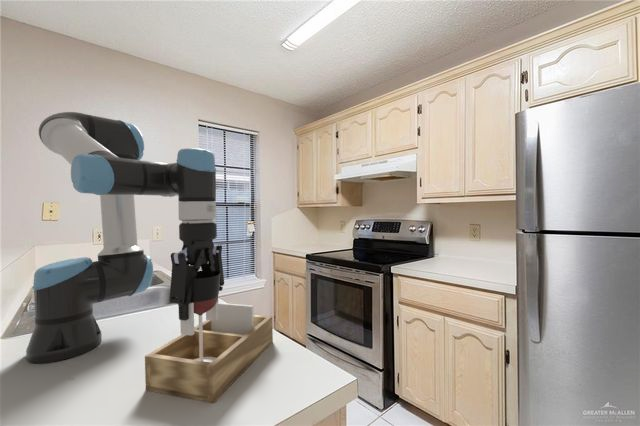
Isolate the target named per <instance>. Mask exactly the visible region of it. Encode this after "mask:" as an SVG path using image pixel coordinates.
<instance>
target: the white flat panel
mask: <svg viewBox="0 0 640 426" xmlns="http://www.w3.org/2000/svg"><path fill="white" fill-rule="evenodd" d="M254 315H255V313H254V305H249V304H240V303H239V304H238V303H236V304H235V303H228V302H227V303H224V302H218V320H217V321H214V320H211V331H214V332H222V333H231V334H239V335H246V334H247V333H248V332H249V331H251V330H252V329H253V328H254Z"/></svg>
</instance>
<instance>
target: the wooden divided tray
mask: <svg viewBox="0 0 640 426" xmlns="http://www.w3.org/2000/svg"><path fill="white" fill-rule="evenodd" d="M202 325H203V357H215V358H216V359H215V360H214V361H212V362H205V361H198V360H194V359H197V358H200V357H199V324H198V325H196V326H194V335H192V336H191V335H183V334H180V335H179V336H177V337H175V338H173V339H172V340H169V341H168V342H167V343H164V344H163V345H161V346H160V347H157V348H156V349H154V350H153V351H151V352H150V353H148V354H145V355H144V375H145V380H144V381H145V391H149V392H155V393H159V394H164V395H168V396H169V395H170V396H175V397H179V398H185V399H190V400H194V401H200V402H203V403H209V404H214V403H215V402H217V401H218V399H219V398H220V397H221V396H222V395H223V394H224V393H225V392H227V390H228V389H229V388H230V387H231V386H232V385H233V384H234V383H235V382H236V381H237V380H238V379H239V378H240V377H241V375H242V374H243V373H244V372H245V371H246V370H247V369H248V368H249V367H250V366H251V365H252V364H253V363H254V362H255V361H257V359H258V358H259V357H260V356H261V355H262V354H263V353H264V352H265V351H266V350H267V348H269V347H270V345H271V344H272V343H273V342H274V337H273V335H274V334H273V333H274V332H273V316H270V315H259V314H254V328H253V329H252V330H251V331H249V332H248V333H247V334H246V335H239V334H231V333H222V332H214V331H211V320H206V319H205V321H202Z"/></svg>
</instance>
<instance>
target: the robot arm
mask: <svg viewBox="0 0 640 426" xmlns="http://www.w3.org/2000/svg"><path fill="white" fill-rule="evenodd" d="M38 136H39V139H40V142H41V143H42V144H43V145H44V146H45V147H46V148H47V149H48V150H49V151H51V152H53V153H54V154H56V155H57V154H58V155H60V156H62V157H63V159H65V161H67V162H68V163H69V164H70V179H71V182H72V186H73V188H74V189H75V191H77V192H78V193H81V194H90V195H91V194H92V195H96V196H99V197H100V212H101V213H100V214H101V226H102V228H101V229H102V243H103V248H102V250H100V252H99V253H98V254H97V260H96V261H93V260H92V258H90V257H87V256H86V257H85V256H84V257H76V258H68V259H65V260H63V259H62V260H60V261H56V262H52V263H48V264H45V265H43V266H41V267H39V268H37V270H35V272H34V275H33V284H32V285H33V286H32V290H33V297H34V302H33V303H34V328H33V331H32V333H31V336H30V339H29V342H28V345H27V347H26V350H25V353H26V354H25V355H26V361H27V362H29V363H33V364H42V363H43V364H45V363H46V364H47V363H53V362H58V361H64V360H66V359H71V358H73V357H77V356H80V355H83V354H85V353H87V352H89V351H92V350H93V349H94V348H97V347H98V346H99V345H100V344H101V343H102V341H103V340H102V337H103V336H102V331H101V329H100V326H99V325H98V324H99V323H98V322H97V320H96V318H95V315H94V304H97V303H102V302H107V301H110V300H111V301H112V300H115V299H116V300H117V299H119V298H124V297H131V296H134V295H136V294H140V293H142V292H145V291H146V290H147V289H148V288H149V286H150V284H151V283H152V280H153V276H154V264H153V261H152V258H151V257H150V256H149V255H148V254H145V252H144V249H143V248H142V247H141V246H139V244H138V233H137V219H136V217H137V216H136V206H135V205H136V204H135V196H158V197H159V196H161V197H167V198H168V197H169V198H171V197H175V196H177V197H178V202H177V203H178V220H179V221H181V223H180V224H179V225H178V231H179V232H178V233H179V236H178V238H179V240H180V241H182V242H183V243H182V247H181V250H180V251H179V252H172V253H171V254H170V260H171V276H170V289H169V303H170V304H177V305H178V319H179V321H180V324H179V325H180V335H182V334H183V335H191V336H192V335H194V327H195V313H194V303H192V302H190V301H191V297H192V292H193V291H192V279H196V275H197V271H200V269H201V271H203V275H204V278H208V277H213V276H215V271H218V272H220V288H219V292H222V291H223V288H224V287H223V286H224V285H225V278H224V277H225V276H224V269H223V258H222V251H223V246H222V245H221V244H215V243H214V240H215V239H217V237H218V233H217V223H216V222H215V220H216V219H217V205H216V204H217V203H216V201H217V185H216V182H217V177H216V176H217V175H216V173H217V172H216V171H217V167H216V162H215V161H216V160H215V154H214V153H213V152H212V151H210V150H207V149H204V148H194V147H192V148H191V147H188V148H182V149H179V150H178V151H177V154H176V155H177V157H176V160H175V161H176V162H172V163H171V162H170V163H169V162H159V161H152V160H151V161H149V160H142V158H143V156H144V155H145V154H144V151H145V141H144V138H143V134H142V132H141V131H140V129H139V128H138V127H137V126H136V125H135V124H133V123H130V122H126V121H123V120H121V119H117V120H116V119H112V118H107V117H103V116H102V117H101V116H96V115H90V114H87V113H82V112H74V111H63V112H57V113H54V114H52V115H49V116H47V117H46V118H45V119H43V120H42V121H41V122H40V124H39V128H38ZM187 279H188V280H187ZM184 296H185V298H184ZM218 303H219V298H218V299H217V303H216V304H215V306H214V307H213V308H212V309H210V310H209V311H207V312H205V321H206V320H214V321H217V320H218Z"/></svg>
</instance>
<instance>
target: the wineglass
mask: <svg viewBox="0 0 640 426" xmlns="http://www.w3.org/2000/svg"><path fill="white" fill-rule="evenodd" d="M187 280H188V279H187ZM220 287H221V286H220V272H218V271H215V276H213V277H208V278H204V275H203V271H202V270H198V271H197V275H196V279H192V291H193V292H192V297H191V301H190V302H192V303H194V315H197V316H198V325H199V357H200V358H197V359H194V360H198V361H205V362H212V361H214V360H215V359H216V358H215V357H203V325H202V323H203V314H206V312H207V311H209V310H210V309H212V308H213V307H214V306H215V304H216V303H217V299H218V300H219V294H220V291H219V288H220ZM184 298H185V296H184Z"/></svg>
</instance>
